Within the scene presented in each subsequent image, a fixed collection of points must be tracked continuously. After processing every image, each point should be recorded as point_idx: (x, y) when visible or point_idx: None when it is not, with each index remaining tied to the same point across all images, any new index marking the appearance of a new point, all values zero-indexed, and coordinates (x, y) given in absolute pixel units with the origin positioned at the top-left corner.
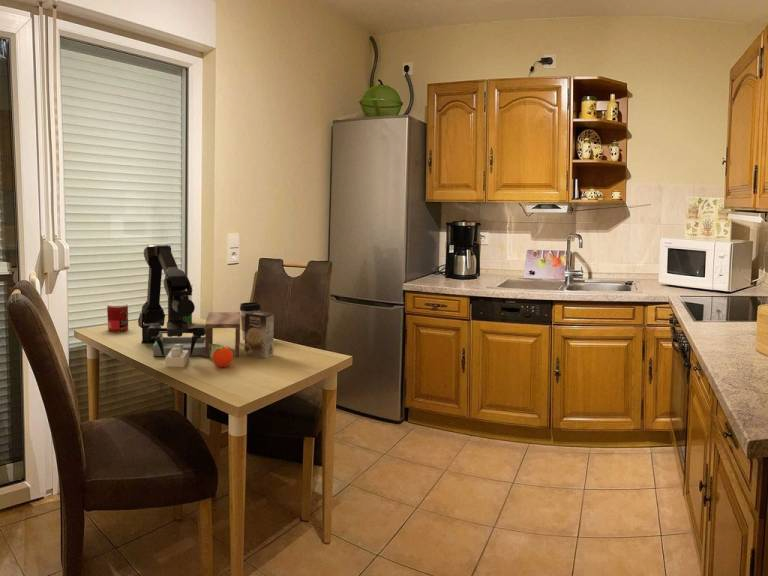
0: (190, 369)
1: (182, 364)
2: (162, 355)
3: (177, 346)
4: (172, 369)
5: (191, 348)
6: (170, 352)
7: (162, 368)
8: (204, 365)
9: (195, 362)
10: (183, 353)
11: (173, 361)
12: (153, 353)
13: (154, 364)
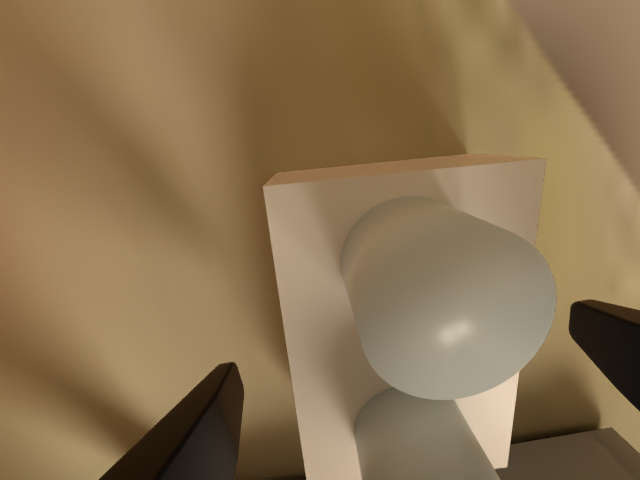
0: (165, 65)
1: (291, 173)
2: (542, 444)
3: (450, 477)
4: (373, 48)
5: (177, 429)
6: (501, 394)
7: (491, 82)
8: (79, 237)
9: (212, 323)
10: (329, 374)
11: (403, 164)
12: (634, 450)
13: (584, 223)
